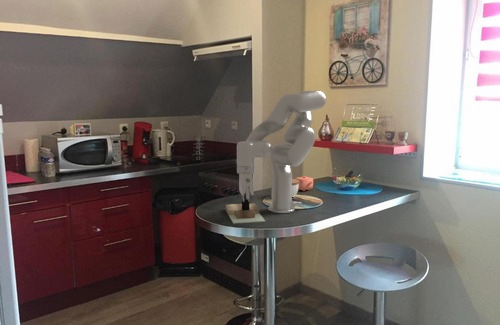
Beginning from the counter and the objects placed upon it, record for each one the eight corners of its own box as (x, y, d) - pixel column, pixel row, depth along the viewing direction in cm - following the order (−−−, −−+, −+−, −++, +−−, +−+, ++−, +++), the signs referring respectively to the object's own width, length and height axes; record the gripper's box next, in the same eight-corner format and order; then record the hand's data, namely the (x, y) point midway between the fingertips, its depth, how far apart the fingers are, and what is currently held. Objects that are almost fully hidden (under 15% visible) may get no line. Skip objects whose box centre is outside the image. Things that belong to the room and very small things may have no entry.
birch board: (254, 208, 206) (254, 203, 205) (259, 214, 195) (259, 209, 195) (225, 209, 203) (225, 204, 203) (229, 216, 192) (229, 210, 192)
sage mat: (259, 214, 195) (259, 213, 195) (265, 221, 184) (265, 220, 183) (229, 216, 192) (229, 215, 192) (233, 223, 181) (233, 222, 181)
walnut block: (251, 213, 194) (251, 209, 194) (254, 217, 188) (254, 213, 187) (234, 214, 193) (234, 210, 193) (237, 218, 186) (237, 214, 186)
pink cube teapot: (306, 192, 239) (306, 178, 238) (292, 189, 249) (292, 175, 247) (316, 191, 243) (317, 177, 242) (302, 187, 253) (303, 173, 252)
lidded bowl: (297, 200, 221) (297, 179, 219) (273, 199, 224) (273, 178, 222) (299, 195, 233) (300, 175, 232) (277, 194, 236) (277, 174, 234)
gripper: (257, 172, 181) (257, 213, 183) (250, 166, 195) (250, 205, 198) (240, 172, 179) (240, 214, 182) (234, 167, 194) (234, 206, 196)
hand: (245, 209), depth 190 cm, fingers closed
